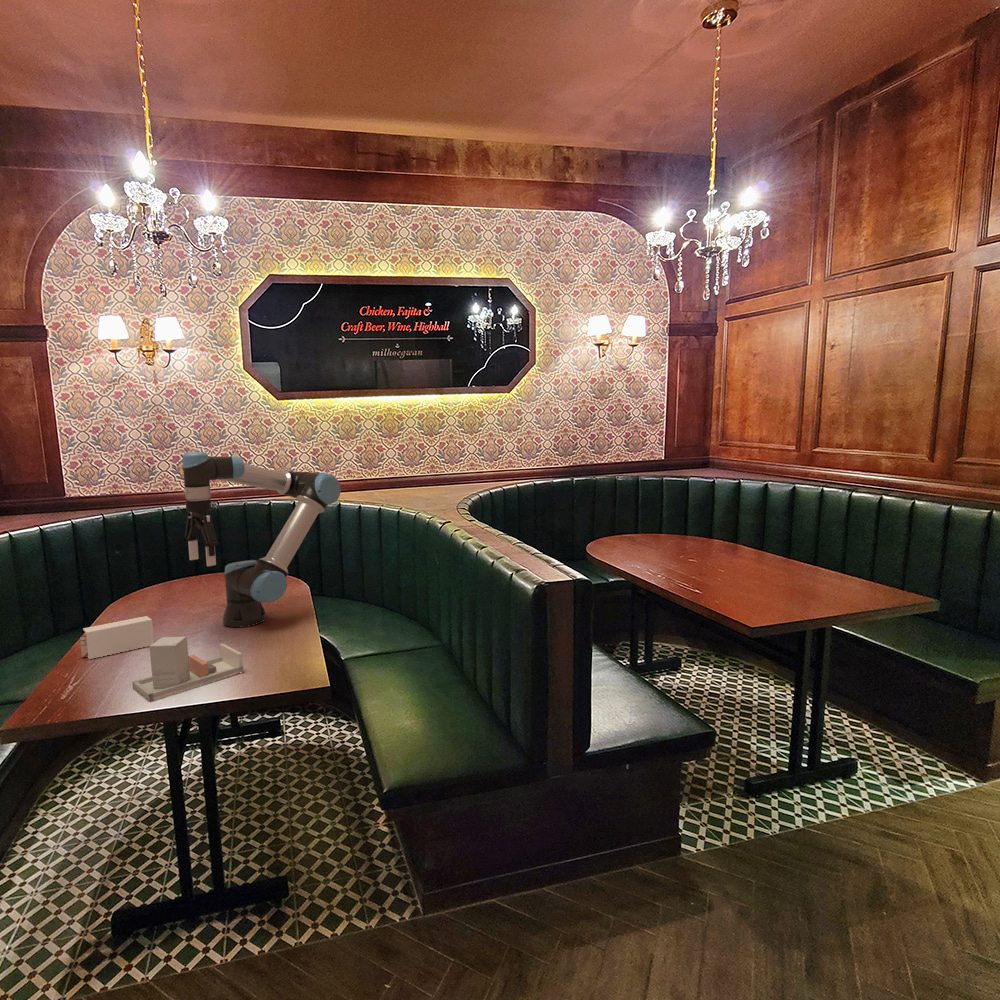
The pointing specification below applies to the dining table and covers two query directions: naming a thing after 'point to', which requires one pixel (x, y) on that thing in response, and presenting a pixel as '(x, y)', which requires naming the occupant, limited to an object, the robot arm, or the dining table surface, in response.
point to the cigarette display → (117, 637)
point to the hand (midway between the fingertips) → (202, 562)
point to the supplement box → (169, 662)
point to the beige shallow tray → (224, 665)
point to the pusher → (200, 666)
